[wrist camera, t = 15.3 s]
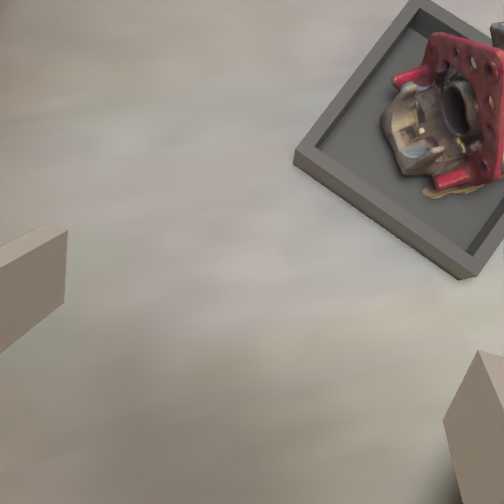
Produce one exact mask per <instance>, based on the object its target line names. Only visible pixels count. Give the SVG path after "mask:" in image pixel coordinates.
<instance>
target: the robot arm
mask: <svg viewBox="0 0 504 504" xmlns="http://www.w3.org/2000/svg"><path fill="white" fill-rule="evenodd" d="M67 235H68V230H65V229H62V228H59V227H55V226H52V225H48V224H45V225H43V226H41V227H39V228H37V229H35V230H33V231H31V232H29V233H27V234H25V235H23V236H21V237H19V238H17V239H15V240H13V241H11V242H9V243H7V244H5V245H3V246H1V247H0V353H1V352H3V351H4V350H5V349H6V348H8V347H9V346H10V345H11V344H13V343H14V342H15V341H16V340H18V339H19V338H20V337H21V336H23V335H24V334H25V333H26V332H28V331H29V330H30V329H31V328H33V327H34V326H35V325H36V324H38V323H39V322H40V321H41V320H43V319H44V318H45V317H46V316H48V315H49V314H50V313H52V312H53V311H54V310H55V309H57V308H58V307H59V306H60V305H62V304H63V303H64V292H65V273H66V254H67ZM443 423H444V428H445V432H446V436H447V440H448V444H449V448H450V452H451V456H452V460H453V465H454V469H455V473H456V477H457V481H458V485H459V489H460V493H461V497H462V501H463V504H504V357H501V356H497V355H494V354H490V353H487V352H484V351H480V350H478V351H477V353H476V355H475V357H474V359H473V361H472V363H471V365H470V367H469V369H468V371H467V373H466V375H465V377H464V379H463V381H462V383H461V385H460V387H459V389H458V391H457V393H456V395H455V397H454V399H453V401H452V403H451V405H450V407H449V409H448V411H447V413H446V415H445V417H444V419H443Z"/></svg>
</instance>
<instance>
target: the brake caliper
mask: <svg viewBox="0 0 504 504" xmlns="http://www.w3.org/2000/svg"><path fill="white" fill-rule="evenodd" d="M490 32H491V36H492V45H493V47H491V46H488V45H486V44H485V43H481V42H476V41H472V40H469V39H467V38H461V37H456V36H455V35H451V34H447V33H445V32H435V33H433V34H432V35H431V36H430V37H429V39H428V43H427V46H426V49H425V54H424V57H423V60H422V63H421V64H420V65H419V66H418V67H415V68H413V69H410V70H407V71H403V72H401V73H398V74H395V75H393V76H392V77H391V84H392V85H393V86H394V87H395V88H396V89H397V90H398V91H399V94H398V95H397V96H396V97H395V98H394V100H393V101H392V102H391V103H390V104H389V105H388V106H387V107H386V109H385V110H384V112H382V114H381V115H380V122H381V125H382V128H383V131H384V133H385V135H386V137H387V139H388V141H389V143H390V145H391V146H392V149H393V151H394V154H395V157H396V160H397V164H398V167H399V169H400V171H401V172H402V174H403V175H414V176H419V175H430V176H432V177H433V183H432V184H430V185H427V186H425V187H423V188H422V189H421V191H422V193H423V195H424V196H427V197H429V198H432V199H440V198H441V197H443V196H444V195H446V194H449V193H454V194H458V195H465V194H468V193H471V192H473V191H476V190H477V189H479V188H481V187H483V186H484V185H485V184H488V183H493V182H495V181H496V180H499V179H502V178H504V22H499V23H493V24H492V25H491V27H490Z"/></svg>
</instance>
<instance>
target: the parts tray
mask: <svg viewBox="0 0 504 504" xmlns="http://www.w3.org/2000/svg"><path fill="white" fill-rule="evenodd" d="M435 32H445V33H447V34H451V35H455V36H456V37H461V38H467V39H469V40H472V41H476V42H481V43H485V44H486V45H488V46H491V47H493V45H492V39H491V38H489V37H488V36H486V35H485V34H483V33H481V32H480V31H478V30H477V29H475V28H474V27H472V26H470V25H469V24H467V23H466V22H464V21H462V20H461V19H459V18H458V17H456V16H455V15H453V14H451V13H450V12H448V11H447V10H445V9H443V8H442V7H440V6H439V5H437V4H436V3H434V2H432V1H431V0H409V1H408V3H407V4H406V5H405V7H404V8H403V9H402V10H401V12H400V13H399V14H398V16H397V17H396V18H395V20H394V21H393V22H392V24H391V25H390V26H389V27H388V29H387V30H386V31H385V33H384V34H383V35H382V37H381V38H380V39H379V41H378V42H377V43H376V44H375V46H374V47H373V48H372V50H371V51H370V52H369V54H368V55H367V56H366V57H365V59H364V60H363V61H362V63H361V64H360V65H359V67H358V68H357V69H356V71H355V72H354V73H353V74H352V76H351V77H350V78H349V80H348V81H347V82H346V84H345V85H344V86H343V88H342V89H341V90H340V91H339V93H338V94H337V95H336V97H335V98H334V99H333V101H332V102H331V103H330V105H329V106H328V107H327V108H326V110H325V111H324V112H323V114H322V115H321V116H320V118H319V119H318V120H317V121H316V123H315V124H314V125H313V127H312V128H311V129H310V131H309V132H308V133H307V135H306V136H305V137H304V138H303V140H302V141H301V142H300V144H299V145H298V146H297V148H296V149H295V154H294V160H293V164H294V165H295V166H297V167H298V168H300V169H301V170H302V171H304V172H305V173H307V174H308V175H310V176H311V177H312V178H314V179H315V180H317V181H318V182H319V183H321V184H322V185H324V186H325V187H327V188H328V189H329V190H331V191H332V192H334V193H335V194H337V195H338V196H339V197H341V198H342V199H344V200H345V201H346V202H348V203H349V204H351V205H352V206H354V207H355V208H356V209H358V210H359V211H361V212H362V213H363V214H365V215H366V216H368V217H369V218H371V219H372V220H373V221H375V222H376V223H378V224H379V225H380V226H382V227H383V228H385V229H386V230H388V231H389V232H390V233H392V234H393V235H395V236H396V237H398V238H399V239H400V240H402V241H403V242H405V243H406V244H407V245H409V246H410V247H412V248H413V249H415V250H416V251H417V252H419V253H420V254H422V255H423V256H424V257H426V258H427V259H429V260H430V261H432V262H433V263H434V264H436V265H437V266H439V267H440V268H441V269H443V270H444V271H446V272H447V273H449V274H450V275H451V276H453V277H454V278H456V279H457V280H462V279H467V278H472V277H477V276H478V274H479V273H480V272H481V270H482V269H483V267H484V266H485V264H486V263H487V261H488V260H489V259H490V257H491V256H492V254H493V253H494V251H495V250H496V248H497V247H498V246H499V244H500V243H501V241H502V240H503V238H504V178H502V179H499V180H496V181H495V182H493V183H488V184H485V185H484V186H483V187H481V188H479V189H477V190H476V191H473V192H471V193H468V194H465V195H458V194H454V193H449V194H446V195H444V196H443V197H441V198H440V199H432V198H429V197H427V196H424V195H423V193H422V191H421V189H422V188H423V187H425V186H427V185H430V184H432V183H433V177H432V176H430V175H419V176H414V175H403V174H402V172H401V171H400V169H399V167H398V164H397V160H396V157H395V154H394V151H393V149H392V146H391V145H390V143H389V141H388V139H387V137H386V135H385V133H384V131H383V128H382V125H381V122H380V115H381V114H382V112H384V110H385V109H386V107H387V106H388V105H389V104H390V103H391V102H392V101H393V100H394V98H395V97H396V96H397V95H398V94H399V91H398V90H397V89H396V88H395V87H394V86H393V85H392V84H391V77H392V76H393V75H395V74H398V73H401V72H403V71H407V70H410V69H413V68H415V67H418V66H419V65H420V64H421V63H422V60H423V57H424V54H425V49H426V46H427V43H428V39H429V37H430V36H431V35H432V34H433V33H435Z"/></svg>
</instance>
